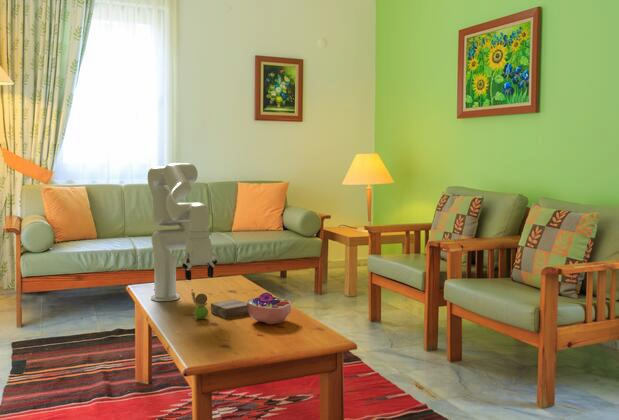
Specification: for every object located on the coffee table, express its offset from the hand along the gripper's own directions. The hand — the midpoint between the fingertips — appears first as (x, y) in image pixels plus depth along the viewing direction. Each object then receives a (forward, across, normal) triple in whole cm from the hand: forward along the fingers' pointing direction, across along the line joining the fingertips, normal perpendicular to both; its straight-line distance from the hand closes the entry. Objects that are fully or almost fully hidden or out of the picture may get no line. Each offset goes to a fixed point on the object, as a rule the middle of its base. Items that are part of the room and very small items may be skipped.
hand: (199, 278), depth 250 cm
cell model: (+17, -19, +21) cm, 33 cm away
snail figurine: (+17, 0, 0) cm, 17 cm away
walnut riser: (+16, -14, 0) cm, 22 cm away
